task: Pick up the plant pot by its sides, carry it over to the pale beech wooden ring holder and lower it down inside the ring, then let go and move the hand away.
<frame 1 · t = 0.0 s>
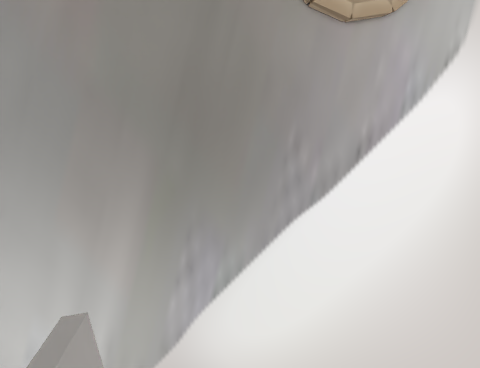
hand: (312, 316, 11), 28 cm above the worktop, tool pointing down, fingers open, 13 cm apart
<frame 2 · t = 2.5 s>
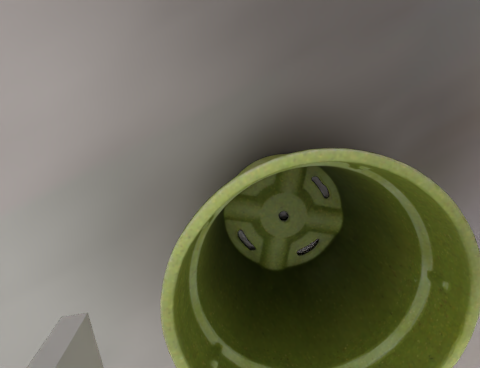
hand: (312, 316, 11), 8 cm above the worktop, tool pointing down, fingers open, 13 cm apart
plant pot: (280, 209, 19), on the worktop
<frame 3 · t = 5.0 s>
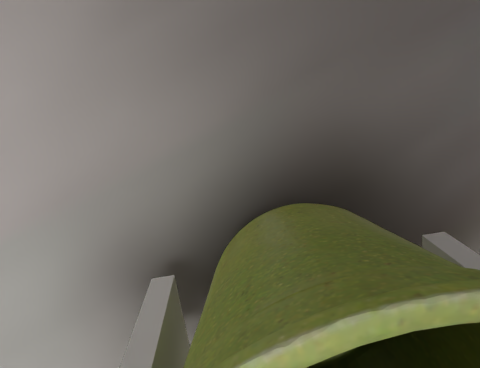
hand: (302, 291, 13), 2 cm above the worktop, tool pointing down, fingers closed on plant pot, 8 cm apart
plant pot: (300, 281, 13), point 1 cm above the worktop, touching gripper
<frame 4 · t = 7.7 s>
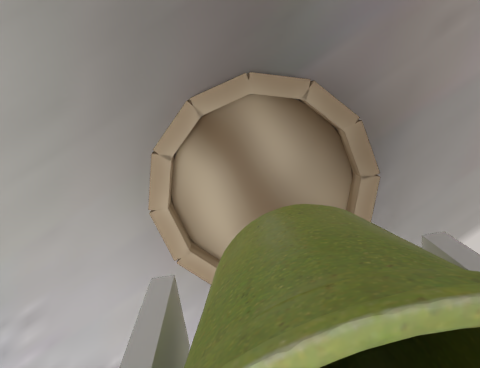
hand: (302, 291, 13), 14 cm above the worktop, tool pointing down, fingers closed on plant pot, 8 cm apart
plant pot: (300, 282, 13), point 13 cm above the worktop, touching gripper
ring holder: (261, 185, 26), on the worktop
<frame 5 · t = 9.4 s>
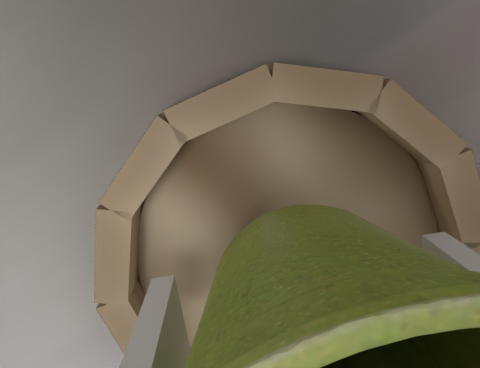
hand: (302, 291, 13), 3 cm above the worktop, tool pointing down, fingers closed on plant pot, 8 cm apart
plant pot: (300, 282, 13), point 3 cm above the worktop, touching gripper
ring holder: (287, 250, 16), on the worktop
when the fingers open (3 cm above the worktop, at t = 10.4 s): plant pot drops 2 cm, resting on ring holder.
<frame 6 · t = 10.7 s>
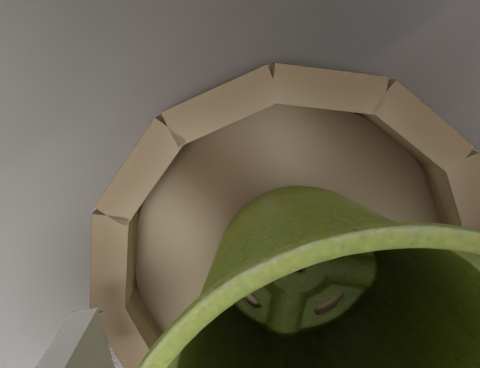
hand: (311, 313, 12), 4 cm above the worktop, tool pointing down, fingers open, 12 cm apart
plant pot: (293, 255, 15), resting on ring holder
ring holder: (288, 255, 15), on the worktop
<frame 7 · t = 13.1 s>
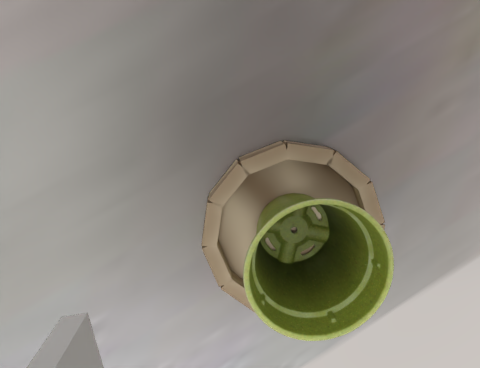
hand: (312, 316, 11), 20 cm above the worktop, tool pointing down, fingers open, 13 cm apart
plant pot: (291, 226, 32), resting on ring holder
ring holder: (289, 227, 32), on the worktop
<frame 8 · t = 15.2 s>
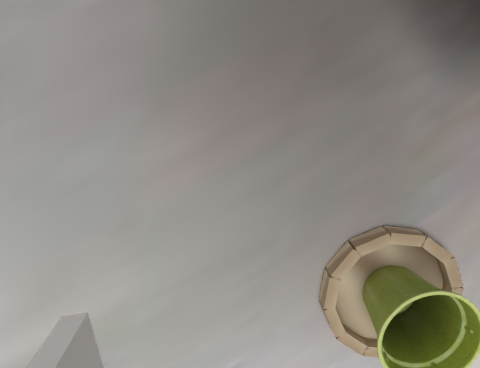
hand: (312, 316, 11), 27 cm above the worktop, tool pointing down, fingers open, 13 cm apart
plant pot: (388, 288, 41), resting on ring holder
ring holder: (385, 288, 42), on the worktop
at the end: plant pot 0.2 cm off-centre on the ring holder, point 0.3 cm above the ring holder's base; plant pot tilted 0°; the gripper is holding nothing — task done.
